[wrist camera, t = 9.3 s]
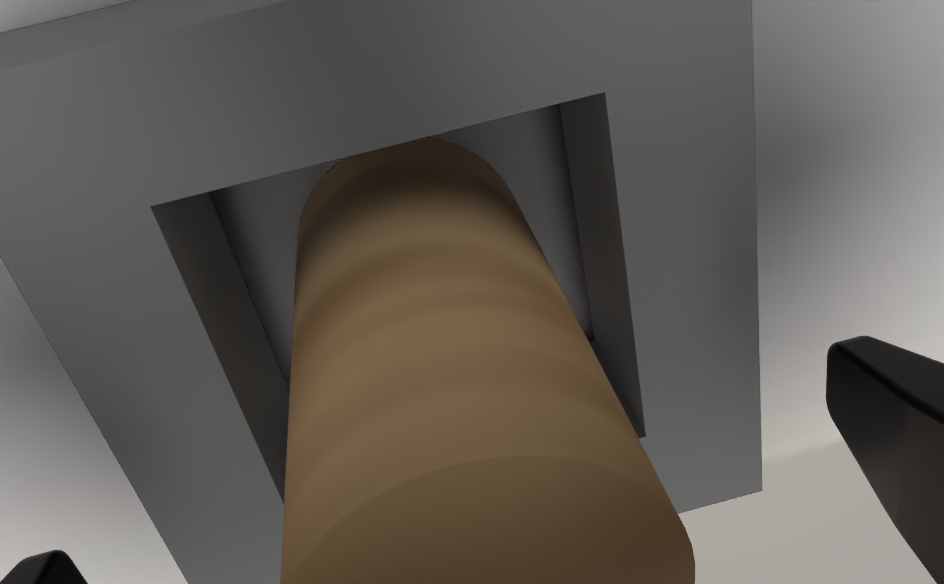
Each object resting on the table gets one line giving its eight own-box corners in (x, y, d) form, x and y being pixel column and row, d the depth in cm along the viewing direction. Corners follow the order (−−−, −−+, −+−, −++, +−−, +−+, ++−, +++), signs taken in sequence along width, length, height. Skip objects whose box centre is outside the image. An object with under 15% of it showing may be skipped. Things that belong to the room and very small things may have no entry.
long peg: (537, 309, 16) (705, 685, 9) (334, 362, 16) (346, 785, 9) (500, 111, 14) (681, 403, 7) (266, 170, 14) (212, 528, 7)
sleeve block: (697, 391, 17) (762, 490, 15) (234, 515, 17) (219, 638, 14) (659, -127, 12) (748, -113, 10) (-5, 34, 12) (-94, 93, 9)
